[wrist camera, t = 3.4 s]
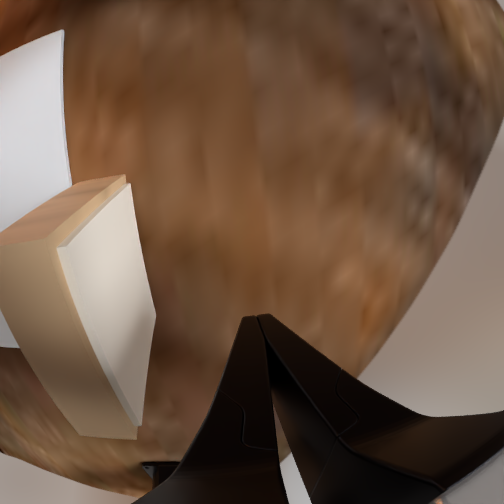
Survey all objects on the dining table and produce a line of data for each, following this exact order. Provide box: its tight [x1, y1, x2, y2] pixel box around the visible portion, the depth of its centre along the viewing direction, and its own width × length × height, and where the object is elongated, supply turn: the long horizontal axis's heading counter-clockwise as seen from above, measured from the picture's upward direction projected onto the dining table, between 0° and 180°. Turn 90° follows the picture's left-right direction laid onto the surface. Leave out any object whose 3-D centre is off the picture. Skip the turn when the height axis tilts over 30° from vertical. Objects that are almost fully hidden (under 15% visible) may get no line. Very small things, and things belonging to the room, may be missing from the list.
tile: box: [0, 174, 156, 439], centre depth 11 cm, size 8×3×8 cm, turn 2°
